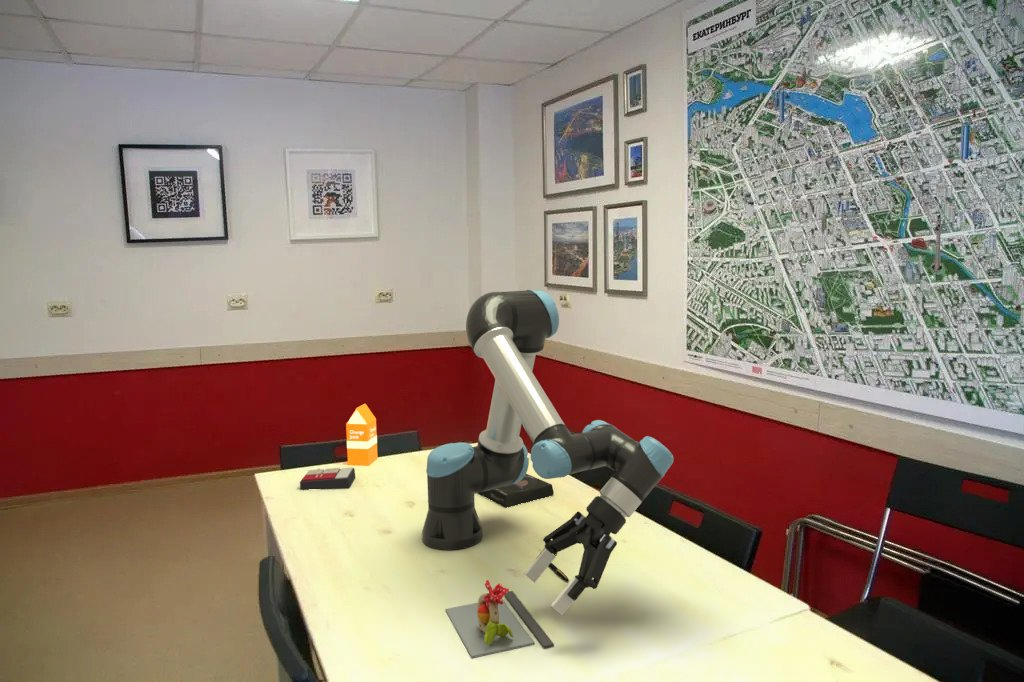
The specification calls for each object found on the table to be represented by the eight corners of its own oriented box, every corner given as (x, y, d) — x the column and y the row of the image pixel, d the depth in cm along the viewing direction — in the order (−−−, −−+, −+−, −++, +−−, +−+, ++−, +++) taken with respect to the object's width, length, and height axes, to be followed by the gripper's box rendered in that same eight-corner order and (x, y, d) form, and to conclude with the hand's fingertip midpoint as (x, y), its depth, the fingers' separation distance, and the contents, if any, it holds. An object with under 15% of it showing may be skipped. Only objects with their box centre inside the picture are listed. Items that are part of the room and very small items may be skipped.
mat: (443, 606, 142) (443, 603, 142) (512, 592, 148) (512, 590, 148) (475, 664, 122) (474, 661, 122) (553, 646, 127) (553, 643, 127)
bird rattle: (469, 646, 130) (491, 649, 123) (457, 585, 133) (478, 584, 126) (497, 637, 134) (521, 638, 126) (485, 577, 136) (507, 575, 129)
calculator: (307, 469, 227) (354, 465, 227) (309, 481, 227) (355, 478, 228) (299, 479, 216) (348, 475, 216) (300, 493, 216) (349, 489, 217)
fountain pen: (538, 558, 165) (538, 552, 164) (542, 557, 165) (542, 551, 165) (566, 584, 151) (566, 578, 151) (571, 583, 152) (571, 577, 152)
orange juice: (347, 465, 241) (344, 408, 239) (357, 457, 250) (354, 402, 248) (369, 465, 240) (366, 408, 238) (378, 458, 249) (376, 403, 246)
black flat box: (553, 497, 207) (553, 484, 207) (505, 509, 198) (505, 495, 197) (522, 482, 221) (521, 470, 220) (475, 493, 211) (475, 481, 211)
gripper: (658, 542, 126) (583, 636, 123) (595, 497, 149) (531, 576, 146) (633, 517, 124) (555, 614, 120) (573, 476, 147) (507, 556, 144)
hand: (542, 593), depth 133 cm, fingers open, 13 cm apart
